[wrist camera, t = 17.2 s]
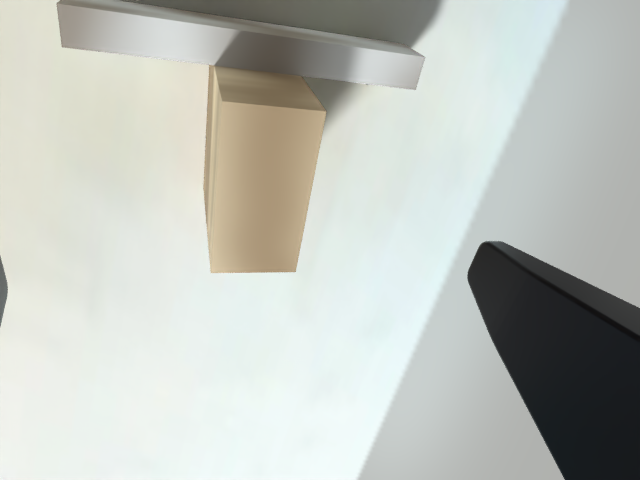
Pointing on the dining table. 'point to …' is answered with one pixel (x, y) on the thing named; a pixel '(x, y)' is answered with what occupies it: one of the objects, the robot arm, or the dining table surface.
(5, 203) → the dining table surface
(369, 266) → the dining table surface
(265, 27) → the scraper
